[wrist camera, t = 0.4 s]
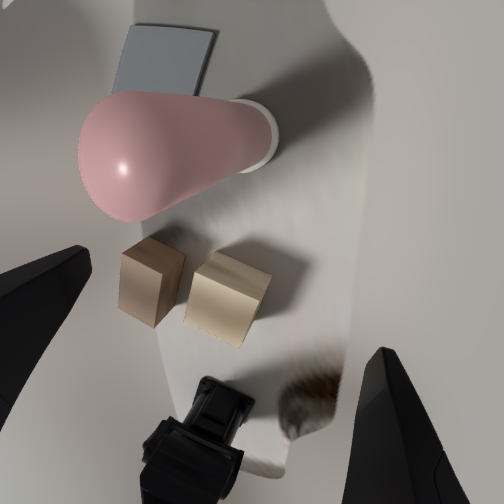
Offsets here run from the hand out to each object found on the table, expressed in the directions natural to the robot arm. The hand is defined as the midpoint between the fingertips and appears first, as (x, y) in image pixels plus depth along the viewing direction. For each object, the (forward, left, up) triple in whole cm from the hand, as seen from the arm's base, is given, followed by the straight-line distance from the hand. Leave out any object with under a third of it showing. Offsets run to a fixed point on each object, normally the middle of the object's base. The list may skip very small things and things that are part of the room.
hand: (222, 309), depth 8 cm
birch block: (-10, +2, -15) cm, 18 cm away
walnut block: (-12, +9, -15) cm, 21 cm away
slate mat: (+2, +14, -15) cm, 20 cm away
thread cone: (+2, +5, -15) cm, 16 cm away
